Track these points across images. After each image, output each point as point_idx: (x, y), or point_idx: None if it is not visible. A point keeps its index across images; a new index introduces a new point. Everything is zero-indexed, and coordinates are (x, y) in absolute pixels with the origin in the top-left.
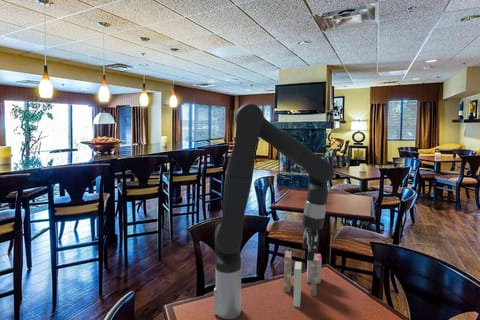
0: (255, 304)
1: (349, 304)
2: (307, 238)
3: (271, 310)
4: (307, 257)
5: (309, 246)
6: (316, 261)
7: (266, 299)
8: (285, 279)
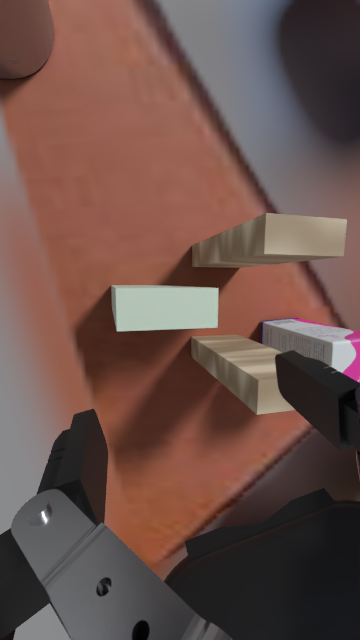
0: (83, 140)
1: (169, 454)
2: (140, 622)
3: (62, 207)
4: (82, 421)
5: (25, 563)
6: (253, 405)
7: (128, 182)
8: (209, 244)
